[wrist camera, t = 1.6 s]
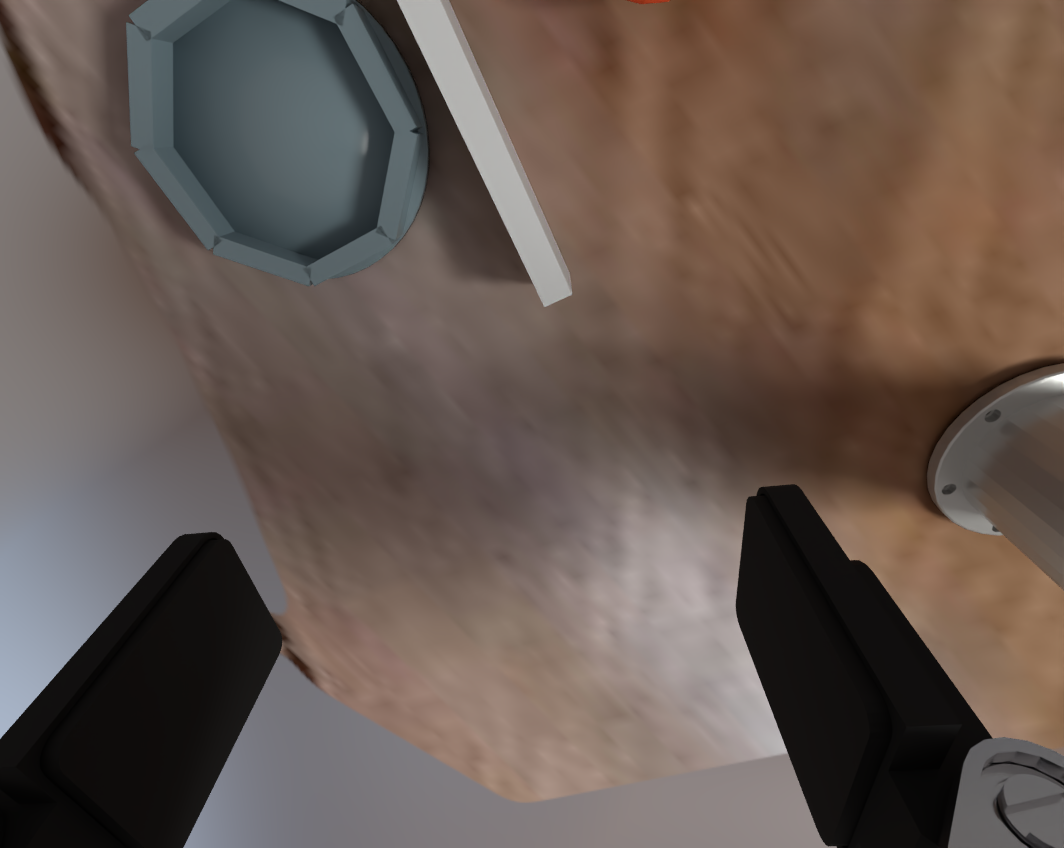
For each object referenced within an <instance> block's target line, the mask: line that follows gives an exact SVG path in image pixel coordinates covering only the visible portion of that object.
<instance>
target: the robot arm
mask: <svg viewBox="0 0 1064 848" xmlns="http://www.w3.org/2000/svg"><path fill="white" fill-rule="evenodd" d="M927 485H928V490H929V493H930V496H931V498H932V501H933V502H934V503H935V504H936V506H937V507H938V508H939V510H940V511H941V512H942V513H944V514H945V515H946V516H947V517H948V518H949V519H950V520H951V521H952V522H953V523H955V524H957V525H959V526H961V527H962V528H964V529H967V530H970V531H974V532H977V533H981V534H988V535H1004V536H1005V537H1006V538H1007V539H1008V540H1009V541H1010V542H1012V543H1013V544H1014V545H1015V546H1016V547H1017V548H1018V549H1019V550H1020V551H1021V552H1022V553H1024V554H1025V555H1026V556H1027V557H1028V558H1029V559H1030V560H1031V561H1032V562H1033V563H1034V564H1035V565H1037V566H1038V567H1039V568H1040V569H1041V570H1042V571H1043V572H1044V573H1045V574H1046V575H1047V576H1049V577H1050V578H1051V579H1052V580H1053V581H1054V582H1055V583H1056V584H1057V585H1058V586H1059V587H1061V588H1062V589H1063V590H1064V363H1062V364H1057V365H1052V366H1047V367H1043V368H1040V369H1037V370H1034V371H1031V372H1028V373H1025V374H1022V375H1020V376H1018V377H1016V378H1014V379H1012V380H1010V381H1008V382H1006V383H1003V384H1001V385H999V386H998V387H996V388H995V389H993V390H991V391H990V392H988V393H987V394H985V395H984V396H982V397H981V398H979V399H978V400H976V401H975V402H974V403H973V404H972V405H970V406H969V407H968V408H967V409H966V410H964V411H963V412H962V413H961V414H960V415H959V416H958V417H957V418H956V419H955V421H954V422H953V423H952V424H951V425H950V426H949V427H948V428H947V430H946V431H945V433H944V434H943V436H942V437H941V439H940V440H939V442H938V443H937V445H936V447H935V449H934V451H933V454H932V456H931V458H930V461H929V466H928V471H927ZM736 613H737V618H738V622H739V625H740V628H741V631H742V634H743V636H744V639H745V641H746V644H747V647H748V649H749V652H750V655H751V657H752V660H753V662H754V665H755V668H756V670H757V673H758V676H759V678H760V681H761V683H762V686H763V689H764V691H765V694H766V697H767V699H768V702H769V704H770V707H771V710H772V712H773V715H774V718H775V720H776V723H777V725H778V728H779V731H780V733H781V736H782V739H783V741H784V744H785V746H786V749H787V752H788V754H789V757H790V760H791V762H792V765H793V767H794V770H795V773H796V775H797V778H798V781H799V783H800V786H801V788H802V791H803V794H804V796H805V799H806V801H807V804H808V807H809V809H810V812H811V815H812V817H813V820H814V823H815V825H816V828H817V830H818V832H819V835H820V837H821V838H822V840H823V842H824V843H825V844H826V845H827V846H837V848H1064V756H1062V755H1061V754H1059V753H1057V752H1055V751H1053V750H1051V749H1048V748H1045V747H1043V746H1040V745H1037V744H1035V743H1032V742H1029V741H1025V740H1019V739H1012V738H1006V737H1002V738H994V739H993V738H992V737H991V735H990V734H989V732H988V731H987V730H986V728H985V727H984V726H983V724H982V723H981V721H980V720H979V719H978V717H977V716H976V714H975V713H974V712H973V710H972V709H971V707H970V706H969V705H968V703H967V702H966V700H965V699H964V698H963V696H962V695H961V694H960V692H959V691H958V689H957V688H956V687H955V685H954V684H953V682H952V681H951V680H950V678H949V677H948V675H947V674H946V673H945V671H944V670H943V669H942V667H941V666H940V664H939V663H938V662H937V660H936V659H935V657H934V656H933V655H932V653H931V652H930V650H929V649H928V648H927V646H926V645H925V643H924V642H923V641H922V639H921V638H920V637H919V635H918V634H917V632H916V631H915V630H914V628H913V627H912V625H911V624H910V623H909V621H908V620H907V618H906V617H905V616H904V614H903V613H902V612H901V610H900V609H899V607H898V606H897V605H896V603H895V602H894V600H893V599H892V598H891V596H890V595H889V593H888V592H887V591H886V589H885V588H884V586H883V585H882V584H881V582H880V581H879V580H878V578H877V577H876V575H875V574H874V573H873V571H872V570H871V569H870V568H869V567H868V566H867V565H866V564H865V563H863V562H861V561H859V560H851V561H850V560H849V558H848V557H847V556H846V554H845V553H844V551H843V550H842V548H841V547H840V545H839V544H838V542H837V541H836V540H835V538H834V537H833V535H832V534H831V532H830V531H829V529H828V528H827V526H826V525H825V523H824V522H823V521H822V519H821V518H820V516H819V515H818V513H817V512H816V510H815V509H814V507H813V506H812V505H811V503H810V502H809V500H808V499H807V497H806V496H805V494H804V493H803V491H802V490H801V489H800V488H799V487H798V486H797V485H795V484H792V485H780V486H768V487H761V488H759V490H758V492H757V496H751V497H748V499H747V503H746V512H745V521H744V531H743V540H742V550H741V559H740V568H739V578H738V587H737V597H736ZM281 647H282V636H281V633H280V631H279V629H278V627H277V625H276V623H275V622H274V620H273V618H272V616H271V614H270V613H269V611H268V609H267V607H266V605H265V604H264V602H263V600H262V598H261V596H260V595H259V593H258V591H257V589H256V587H255V585H254V584H253V582H252V580H251V578H250V576H249V575H248V573H247V571H246V569H245V567H244V566H243V564H242V562H241V560H240V559H239V557H238V555H237V553H236V551H235V549H234V547H233V546H232V544H231V543H230V542H229V541H228V540H226V539H224V538H223V537H222V536H221V535H220V534H218V533H216V532H208V533H196V534H184V535H182V536H179V537H178V538H177V539H176V540H175V541H173V543H172V544H171V545H170V546H169V547H168V548H167V550H166V551H165V552H164V553H163V554H162V555H161V556H160V557H159V559H158V560H157V561H156V562H155V563H154V565H152V567H151V568H150V569H149V570H148V571H147V572H146V573H145V575H144V576H143V577H142V578H141V579H140V580H139V582H137V584H136V585H135V586H134V587H133V588H132V589H131V591H130V592H129V593H128V594H127V595H126V596H125V597H124V598H123V600H122V601H121V602H120V603H119V604H118V605H117V607H116V608H115V609H114V610H113V611H112V612H111V613H110V614H109V616H108V617H107V618H106V619H105V620H104V621H103V622H102V624H101V625H100V626H99V627H98V628H97V629H96V631H95V632H94V633H93V634H92V635H91V636H90V637H89V638H88V640H87V641H86V642H85V643H84V644H83V645H82V646H81V647H80V649H79V650H78V651H77V652H76V653H75V654H74V656H73V657H72V658H71V659H70V660H69V661H68V662H67V663H66V665H65V666H64V667H63V668H62V669H61V670H60V671H59V673H58V674H57V675H56V676H55V677H54V678H53V679H52V681H51V682H50V683H49V684H48V685H47V686H46V687H45V689H44V690H43V691H42V692H41V693H40V694H39V696H38V697H37V698H36V699H35V700H34V701H33V702H32V703H31V705H30V706H29V707H28V708H27V709H26V710H25V712H24V713H23V714H22V715H21V716H20V717H19V718H18V719H17V720H16V722H15V723H14V724H13V725H12V726H11V727H10V728H9V730H8V731H7V732H6V733H5V734H4V735H3V736H2V738H1V739H0V848H183V847H184V845H185V843H186V841H187V839H188V837H189V835H190V833H191V831H192V829H193V827H194V825H195V823H196V821H197V819H198V817H199V815H200V813H201V811H202V809H203V807H204V805H205V803H206V801H207V799H208V797H209V795H210V793H211V791H212V789H213V787H214V785H215V783H216V781H217V779H218V777H219V775H220V773H221V771H222V769H223V767H224V765H225V762H226V761H227V758H228V756H229V754H230V752H231V750H232V748H233V746H234V744H235V742H236V740H237V738H238V736H239V734H240V732H241V730H242V728H243V726H244V724H245V722H246V720H247V718H248V716H249V714H250V712H251V710H252V708H253V706H254V704H255V702H256V700H257V698H258V696H259V694H260V692H261V690H262V688H263V686H264V684H265V682H266V680H267V678H268V676H269V674H270V672H271V670H272V668H273V666H274V664H275V662H276V660H277V658H278V656H279V653H280V651H281Z"/></svg>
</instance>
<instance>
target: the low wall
mask: <svg viewBox="0 0 1064 848" xmlns="http://www.w3.org/2000/svg"><path fill="white" fill-rule="evenodd" d="M397 1H398V4H399V6H400V8H401V10H402V12H403V14H404V16H405V18H406V20H407V22H408V24H409V26H410V28H411V31H412V33H413V35H414V37H415V39H416V41H417V43H418V45H419V47H420V49H421V51H422V53H423V56H424V58H425V60H426V62H427V64H428V66H429V68H430V70H431V72H432V74H433V76H434V78H435V80H436V83H437V85H438V87H439V89H440V91H441V93H442V95H443V97H444V99H445V101H446V103H447V105H448V108H449V110H450V112H451V114H452V116H453V118H454V120H455V122H456V124H457V126H458V128H459V130H460V132H461V135H462V137H463V139H464V141H465V143H466V145H467V147H468V149H469V151H470V153H471V155H472V157H473V160H474V162H475V164H476V166H477V168H478V170H479V172H480V174H481V176H482V178H483V180H484V182H485V184H486V187H487V189H488V191H489V193H490V195H491V197H492V199H493V201H494V203H495V205H496V207H497V209H498V212H499V214H500V216H501V218H502V220H503V222H504V224H505V226H506V228H507V230H508V232H509V234H510V236H511V239H512V241H513V243H514V245H515V247H516V249H517V251H518V253H519V255H520V257H521V259H522V261H523V263H524V266H525V268H526V270H527V272H528V274H529V276H530V278H531V280H532V282H533V284H534V286H535V288H536V291H537V293H538V295H539V297H540V299H541V301H542V303H543V305H544V307H546V306H548V305H551V304H553V303H555V302H557V301H559V300H561V299H564V298H566V297H568V296H570V295H572V287H571V279H570V273H569V271H568V268H567V266H566V264H565V261H564V259H563V257H562V255H561V252H560V250H559V248H558V246H557V243H556V241H555V239H554V237H553V234H552V232H551V230H550V228H549V225H548V223H547V221H546V219H545V216H544V214H543V212H542V209H541V207H540V205H539V203H538V200H537V198H536V196H535V194H534V191H533V189H532V187H531V185H530V182H529V180H528V178H527V176H526V173H525V171H524V169H523V167H522V164H521V162H520V160H519V158H518V155H517V153H516V151H515V148H514V146H513V144H512V142H511V139H510V137H509V135H508V133H507V130H506V128H505V126H504V124H503V121H502V119H501V117H500V115H499V112H498V110H497V108H496V106H495V103H494V101H493V99H492V96H491V94H490V92H489V90H488V87H487V85H486V83H485V81H484V78H483V76H482V74H481V72H480V69H479V67H478V65H477V63H476V60H475V58H474V56H473V54H472V51H471V49H470V47H469V44H468V42H467V40H466V38H465V35H464V33H463V31H462V29H461V26H460V24H459V22H458V20H457V17H456V15H455V13H454V11H453V8H452V6H451V4H450V2H449V0H397Z"/></svg>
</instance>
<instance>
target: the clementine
mask: <svg viewBox="0 0 1064 848" xmlns="http://www.w3.org/2000/svg"><path fill="white" fill-rule="evenodd" d="M627 1H631V2H635V3H639V4H648V3H661V2H668V1H670V0H627Z"/></svg>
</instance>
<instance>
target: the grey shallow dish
mask: <svg viewBox="0 0 1064 848" xmlns="http://www.w3.org/2000/svg"><path fill="white" fill-rule="evenodd" d="M129 17H130V18H131V20H132V21H133V23H134V24H133V23H128V22H126V33H127V57H128V82H129V106H130V131H131V146H132V147H135V148H138V149H139V150H138V151H136V152H135V153H134V154H135V155H136V157H137V158H138V159H139V161H140V162H141V163H142V165H143V166H144V167H145V168H146V170H147V171H148V172H149V174H150V175H151V176H152V178H153V179H154V180H155V182H156V183H157V184H158V186H159V187H160V188H161V189H162V191H163V192H164V193H165V195H166V196H167V197H168V199H169V200H170V201H171V203H172V204H173V205H174V207H175V208H176V209H177V211H178V212H179V213H180V214H181V216H182V217H183V218H184V220H185V221H186V222H187V224H188V225H189V226H190V228H191V229H192V230H193V232H194V233H195V234H196V235H197V237H198V238H199V239H200V241H201V242H202V243H203V245H204V246H205V247H206V249H207V250H210V249H213V254H214V255H217V256H220V257H223V258H226V259H229V260H232V261H235V262H238V263H241V264H244V265H247V266H250V267H253V268H256V269H259V270H262V271H265V272H268V273H271V274H273V275H276V276H279V277H282V278H285V279H288V280H291V281H294V282H297V283H300V284H303V285H306V286H310V285H312V284H313V285H314V286H316V285H318V284H320V283H321V282H323V281H325V280H327V279H331V278H339V277H343V276H346V275H350V274H354V273H356V272H358V271H360V270H363V269H365V268H367V267H369V266H370V265H372V264H374V263H375V262H377V261H378V260H380V259H381V258H382V257H384V256H385V255H386V254H387V253H388V252H389V251H391V250H392V249H393V248H394V247H395V246H396V245H397V244H398V243H399V242H400V240H401V239H402V238H403V237H404V236H405V234H406V233H407V231H408V230H409V228H410V227H411V225H412V223H413V222H414V220H415V218H416V216H417V213H418V211H419V209H420V207H421V204H422V200H423V197H424V194H425V190H426V186H427V179H428V173H429V156H430V148H429V135H428V127H427V122H426V117H425V112H424V107H423V104H422V101H421V98H420V94H419V91H418V88H417V86H416V83H415V81H414V79H413V76H412V74H411V72H410V69H409V67H408V65H407V63H406V62H405V60H404V58H403V56H402V55H401V53H400V51H399V49H398V48H397V46H396V45H395V43H394V42H393V40H392V39H391V38H390V36H389V35H388V33H387V32H386V31H385V29H384V28H383V27H382V25H381V24H380V23H379V22H378V21H377V20H376V19H375V18H374V17H373V16H372V14H371V13H370V12H369V11H368V10H367V9H366V8H365V7H364V6H362V5H361V4H360V3H359V2H358V1H357V0H148V1H146V2H145V3H144V4H143V5H141V6H140V7H139V8H137V9H136V10H135V11H134V12H132V13H131V14H130V15H129Z"/></svg>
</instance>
